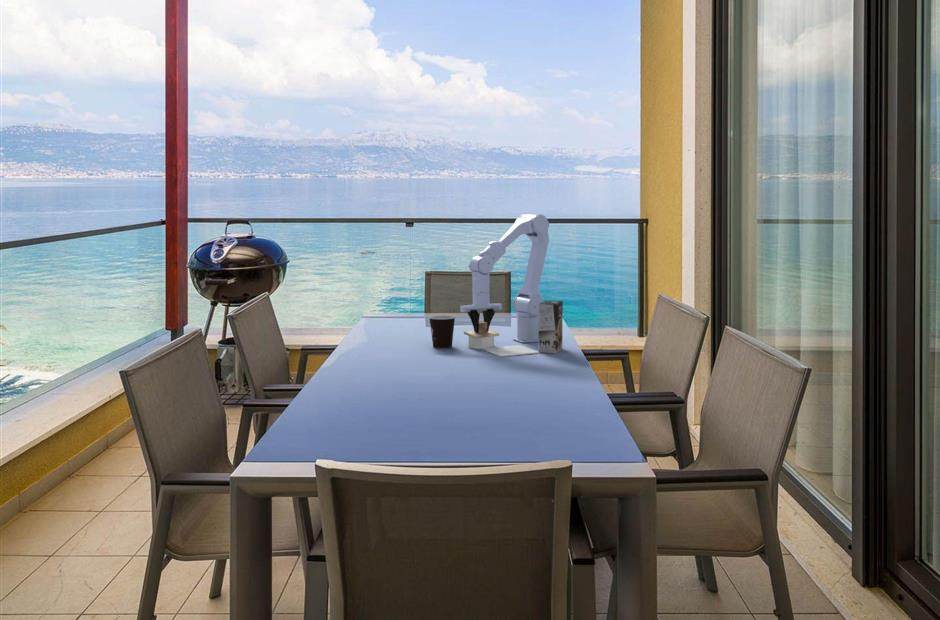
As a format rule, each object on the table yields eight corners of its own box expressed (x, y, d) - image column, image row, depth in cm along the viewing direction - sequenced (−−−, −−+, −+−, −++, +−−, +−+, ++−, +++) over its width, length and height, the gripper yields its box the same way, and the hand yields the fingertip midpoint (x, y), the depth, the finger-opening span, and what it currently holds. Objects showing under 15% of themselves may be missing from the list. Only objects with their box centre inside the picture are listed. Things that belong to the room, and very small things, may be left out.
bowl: (487, 343, 293) (487, 332, 292) (497, 347, 286) (497, 335, 285) (465, 345, 290) (465, 333, 289) (475, 349, 283) (475, 337, 282)
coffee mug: (452, 349, 283) (451, 319, 282) (427, 348, 285) (426, 319, 284) (459, 342, 295) (459, 314, 293) (435, 342, 296) (434, 313, 295)
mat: (519, 346, 288) (519, 344, 288) (539, 353, 275) (539, 352, 275) (482, 349, 282) (482, 348, 282) (500, 357, 270) (500, 355, 270)
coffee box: (557, 353, 275) (557, 304, 272) (537, 352, 277) (537, 303, 274) (563, 348, 283) (563, 300, 281) (544, 347, 285) (544, 299, 283)
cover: (487, 331, 293) (487, 319, 292) (499, 335, 285) (499, 323, 284) (463, 333, 289) (463, 321, 289) (474, 338, 281) (474, 325, 281)
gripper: (465, 294, 279) (466, 335, 281) (505, 292, 284) (505, 332, 286) (457, 292, 285) (457, 332, 287) (496, 289, 291) (496, 328, 293)
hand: (481, 331), depth 287 cm, fingers closed on cover, 3 cm apart
